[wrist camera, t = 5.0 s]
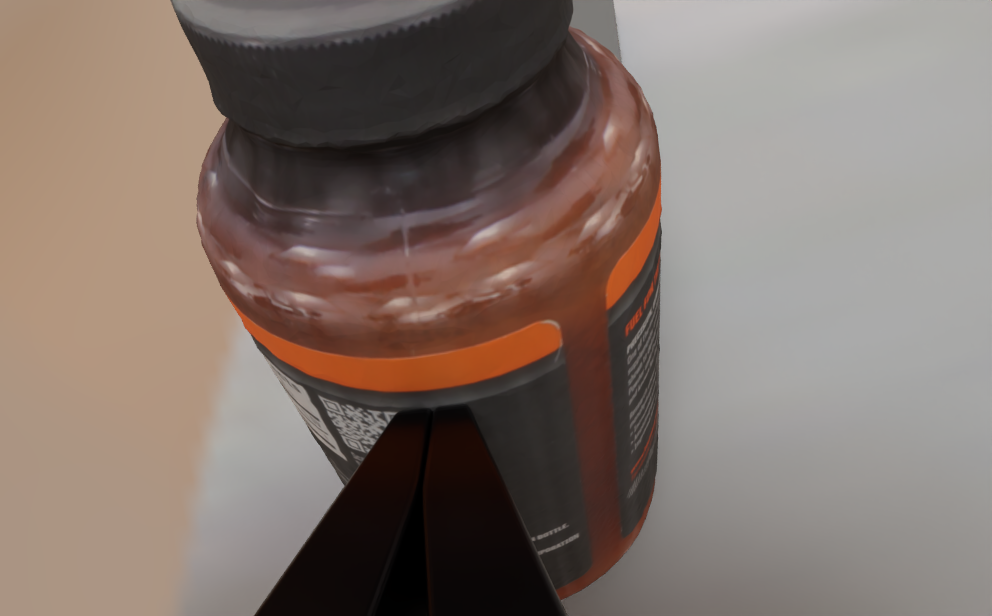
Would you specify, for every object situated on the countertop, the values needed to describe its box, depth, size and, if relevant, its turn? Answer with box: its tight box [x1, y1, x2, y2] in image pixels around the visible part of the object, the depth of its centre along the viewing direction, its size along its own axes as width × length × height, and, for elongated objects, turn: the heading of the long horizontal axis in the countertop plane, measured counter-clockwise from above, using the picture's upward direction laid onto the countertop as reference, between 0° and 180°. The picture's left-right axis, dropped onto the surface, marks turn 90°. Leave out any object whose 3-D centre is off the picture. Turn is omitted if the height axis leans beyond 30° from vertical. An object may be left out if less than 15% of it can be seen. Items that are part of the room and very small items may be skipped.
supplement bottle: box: [171, 0, 662, 600], centre depth 12 cm, size 6×6×11 cm
